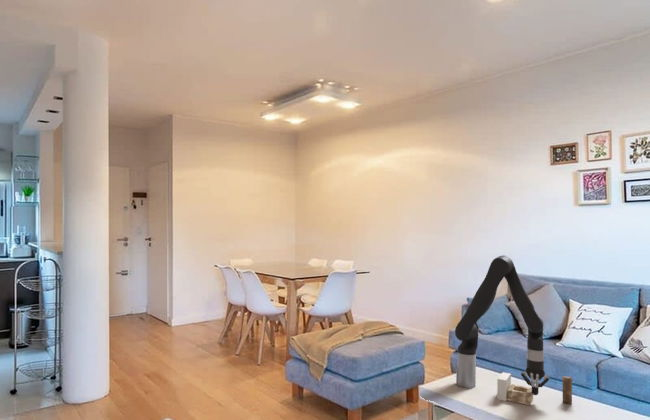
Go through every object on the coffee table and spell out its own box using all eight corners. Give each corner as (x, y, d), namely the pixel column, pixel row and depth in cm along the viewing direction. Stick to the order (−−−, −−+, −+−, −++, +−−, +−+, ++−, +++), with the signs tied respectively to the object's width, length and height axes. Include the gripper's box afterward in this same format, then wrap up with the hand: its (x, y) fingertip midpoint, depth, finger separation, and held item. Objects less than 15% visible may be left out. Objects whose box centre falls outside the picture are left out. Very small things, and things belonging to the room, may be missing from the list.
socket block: (507, 400, 217) (507, 390, 217) (511, 394, 225) (511, 384, 225) (530, 405, 211) (530, 394, 212) (533, 398, 220) (533, 388, 220)
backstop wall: (497, 399, 219) (497, 378, 219) (502, 391, 229) (502, 372, 229) (505, 401, 216) (506, 380, 217) (510, 393, 226) (510, 373, 227)
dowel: (562, 402, 216) (562, 377, 216) (562, 400, 219) (563, 375, 219) (571, 404, 213) (571, 379, 214) (572, 402, 217) (572, 377, 217)
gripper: (519, 357, 216) (518, 394, 215) (549, 362, 209) (549, 400, 208) (521, 354, 222) (521, 389, 222) (551, 358, 215) (551, 395, 214)
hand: (535, 394), depth 215 cm, fingers closed
